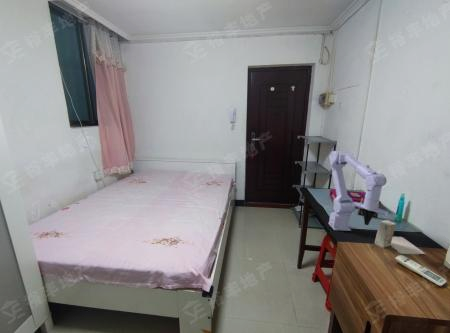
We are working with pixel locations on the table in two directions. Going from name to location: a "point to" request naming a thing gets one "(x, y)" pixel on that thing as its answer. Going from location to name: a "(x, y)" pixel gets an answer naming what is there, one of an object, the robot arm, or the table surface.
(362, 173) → the robot arm
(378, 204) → the ammunition clip
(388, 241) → the skincare box
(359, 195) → the book
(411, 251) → the mat
